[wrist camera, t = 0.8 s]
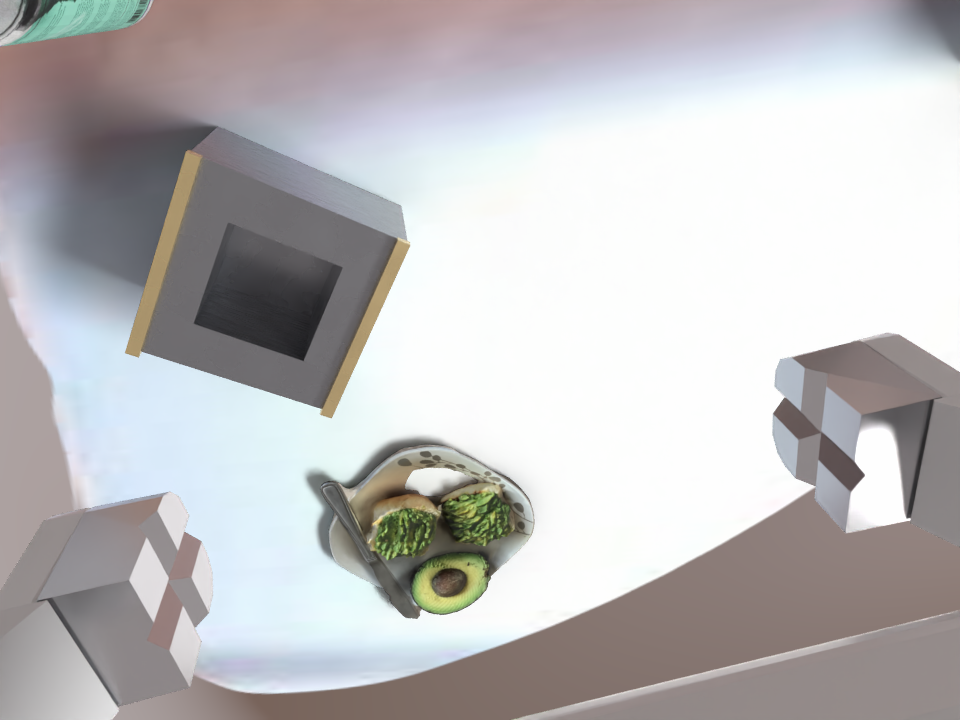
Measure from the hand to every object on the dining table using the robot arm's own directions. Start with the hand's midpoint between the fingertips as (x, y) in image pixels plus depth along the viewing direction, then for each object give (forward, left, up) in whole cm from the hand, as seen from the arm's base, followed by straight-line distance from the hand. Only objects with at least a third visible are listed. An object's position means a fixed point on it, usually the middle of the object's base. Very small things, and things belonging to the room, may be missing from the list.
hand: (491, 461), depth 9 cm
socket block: (+13, -3, -42) cm, 44 cm away
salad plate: (+33, +18, -42) cm, 57 cm away
